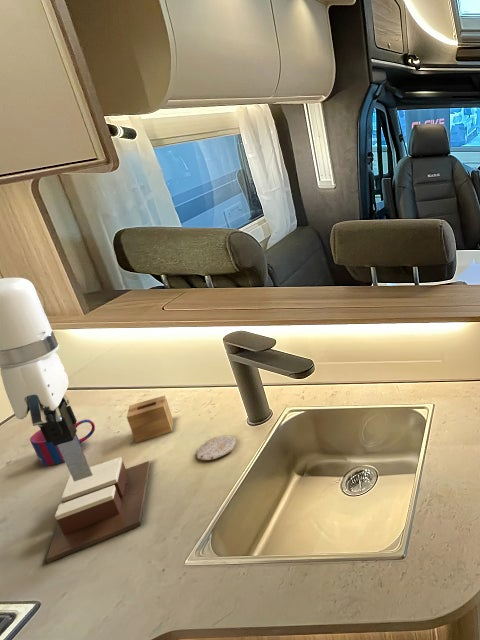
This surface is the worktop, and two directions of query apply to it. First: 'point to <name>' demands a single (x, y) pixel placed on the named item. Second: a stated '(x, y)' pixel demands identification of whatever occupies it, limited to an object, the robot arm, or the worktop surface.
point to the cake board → (110, 526)
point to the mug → (48, 451)
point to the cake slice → (88, 509)
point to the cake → (98, 480)
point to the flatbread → (216, 447)
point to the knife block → (150, 418)
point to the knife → (72, 448)
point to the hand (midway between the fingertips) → (62, 431)
